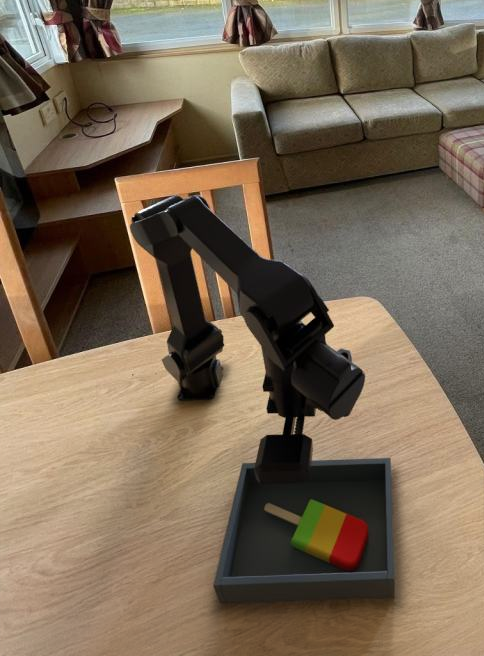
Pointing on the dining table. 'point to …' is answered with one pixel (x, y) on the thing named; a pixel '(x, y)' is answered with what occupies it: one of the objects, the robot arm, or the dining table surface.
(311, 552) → the popsicle
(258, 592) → the tub
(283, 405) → the robot arm
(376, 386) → the dining table surface
